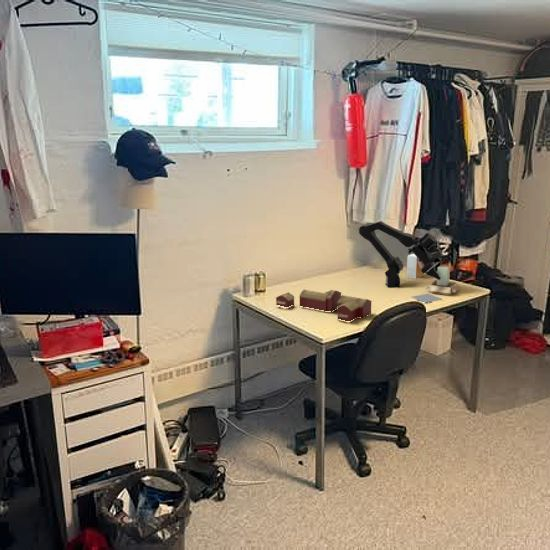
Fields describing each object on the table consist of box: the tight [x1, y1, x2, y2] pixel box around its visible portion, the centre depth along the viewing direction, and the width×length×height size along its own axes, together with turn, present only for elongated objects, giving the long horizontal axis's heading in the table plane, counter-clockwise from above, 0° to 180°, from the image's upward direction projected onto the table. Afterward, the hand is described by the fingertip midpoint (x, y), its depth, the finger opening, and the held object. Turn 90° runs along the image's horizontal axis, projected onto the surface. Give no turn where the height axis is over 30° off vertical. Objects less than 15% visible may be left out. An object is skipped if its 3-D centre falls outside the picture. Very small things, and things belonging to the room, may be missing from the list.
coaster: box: [411, 293, 443, 304], centre depth 271 cm, size 11×11×1 cm
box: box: [436, 265, 451, 287], centre depth 280 cm, size 5×5×13 cm
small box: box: [406, 253, 425, 280], centre depth 310 cm, size 8×6×13 cm
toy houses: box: [275, 289, 372, 321], centre depth 257 cm, size 45×20×10 cm, turn 54°
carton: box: [425, 279, 460, 296], centre depth 281 cm, size 15×15×5 cm
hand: (442, 277), depth 280 cm, fingers open, 9 cm apart
